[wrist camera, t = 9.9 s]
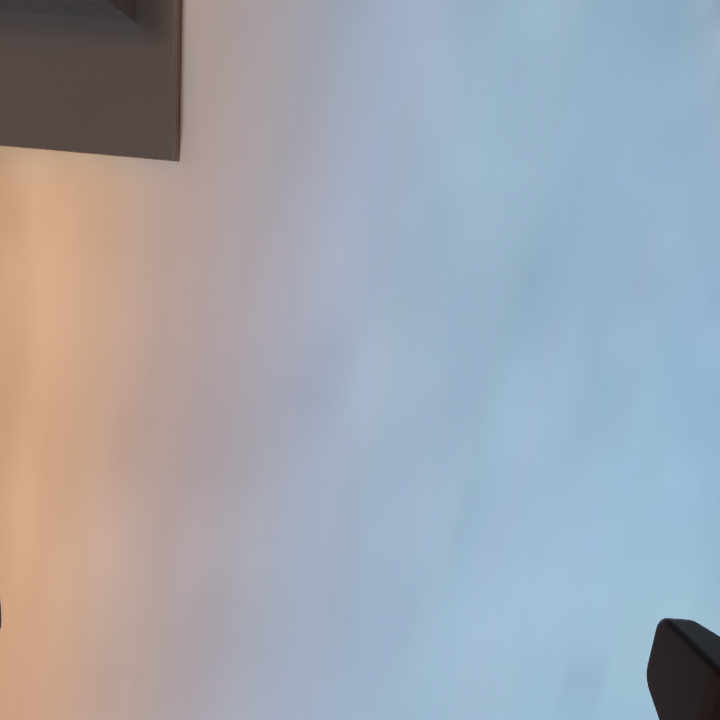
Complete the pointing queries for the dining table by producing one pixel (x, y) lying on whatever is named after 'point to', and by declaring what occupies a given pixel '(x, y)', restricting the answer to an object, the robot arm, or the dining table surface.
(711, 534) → the dining table surface
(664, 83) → the dining table surface
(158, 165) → the dining table surface
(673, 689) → the robot arm
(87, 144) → the base plate
